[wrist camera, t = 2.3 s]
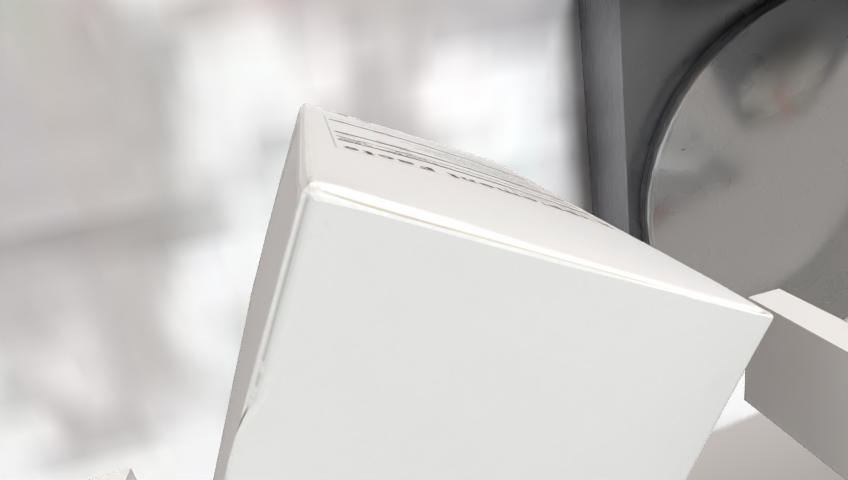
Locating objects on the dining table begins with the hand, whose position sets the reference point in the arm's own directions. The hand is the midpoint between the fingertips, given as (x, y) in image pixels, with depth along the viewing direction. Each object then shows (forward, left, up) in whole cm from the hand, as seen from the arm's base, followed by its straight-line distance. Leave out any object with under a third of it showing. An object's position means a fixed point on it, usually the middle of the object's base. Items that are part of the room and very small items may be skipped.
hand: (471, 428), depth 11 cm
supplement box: (0, 0, -13) cm, 13 cm away
